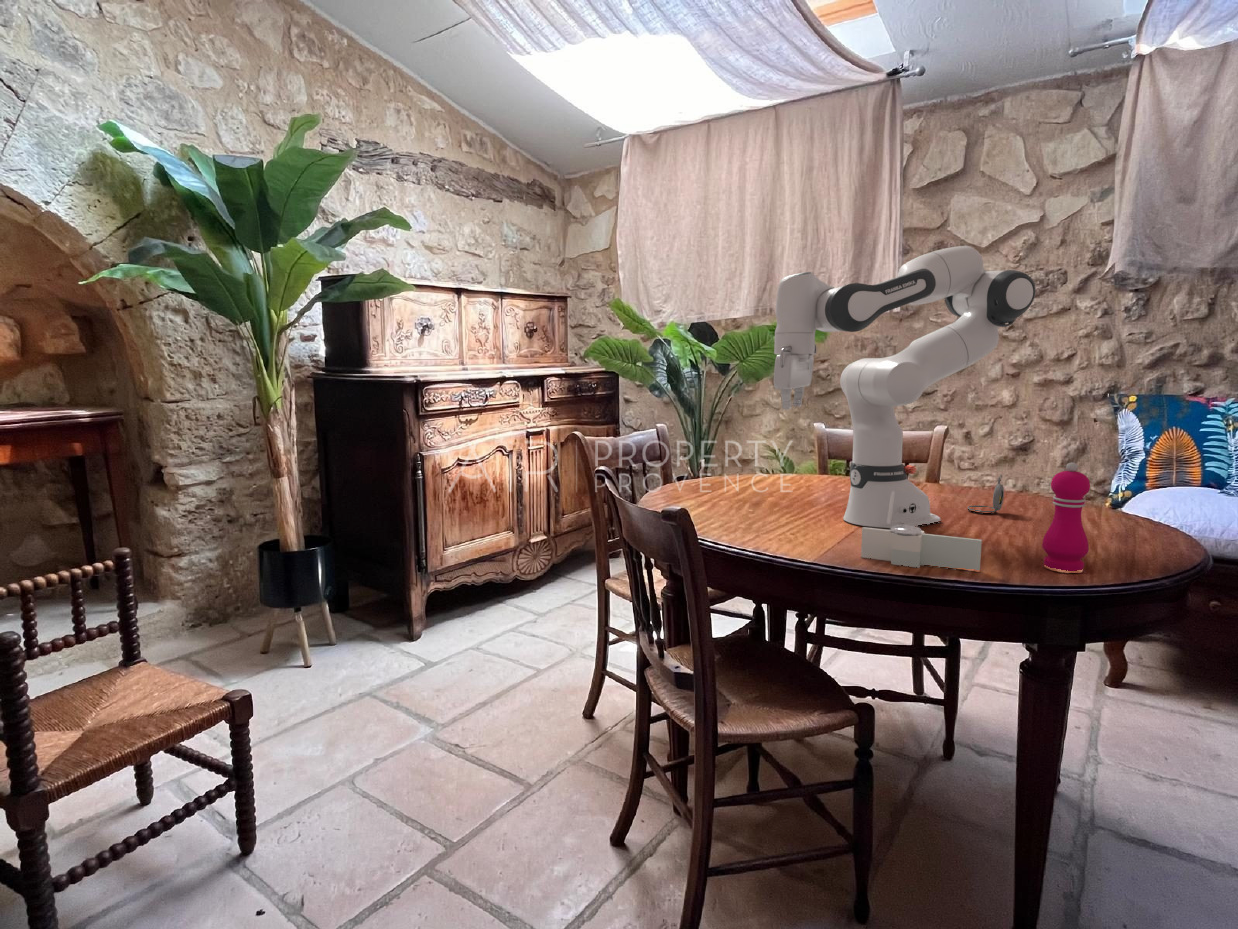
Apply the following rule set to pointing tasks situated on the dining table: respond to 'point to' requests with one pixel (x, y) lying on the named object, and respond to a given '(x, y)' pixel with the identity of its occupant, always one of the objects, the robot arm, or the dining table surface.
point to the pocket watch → (995, 498)
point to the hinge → (921, 549)
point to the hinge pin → (906, 530)
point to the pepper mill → (1067, 521)
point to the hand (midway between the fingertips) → (792, 407)
